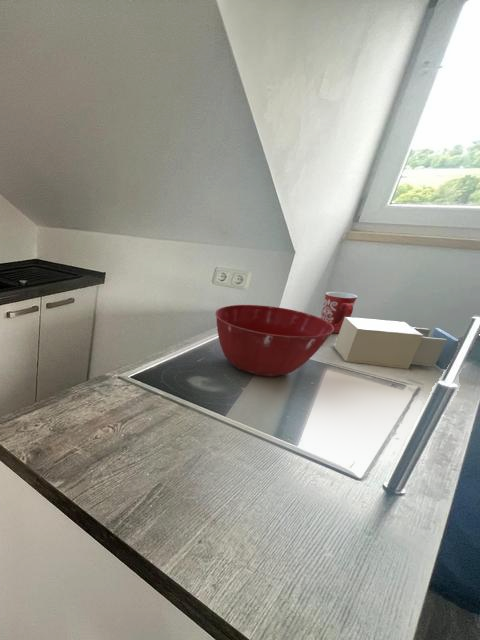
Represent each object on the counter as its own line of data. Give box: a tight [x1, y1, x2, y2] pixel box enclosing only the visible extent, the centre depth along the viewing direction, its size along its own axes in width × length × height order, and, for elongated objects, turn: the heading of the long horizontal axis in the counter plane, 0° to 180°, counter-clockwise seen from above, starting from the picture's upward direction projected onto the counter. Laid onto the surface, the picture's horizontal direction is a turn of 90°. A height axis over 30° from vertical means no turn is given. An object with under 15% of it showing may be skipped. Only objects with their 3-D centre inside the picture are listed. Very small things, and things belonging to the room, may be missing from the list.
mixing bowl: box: [214, 304, 334, 377], centre depth 114 cm, size 28×28×16 cm
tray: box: [410, 326, 472, 371], centre depth 115 cm, size 18×11×9 cm, turn 65°
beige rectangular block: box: [334, 316, 423, 370], centre depth 119 cm, size 15×13×11 cm
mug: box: [319, 291, 359, 334], centre depth 140 cm, size 13×9×14 cm
